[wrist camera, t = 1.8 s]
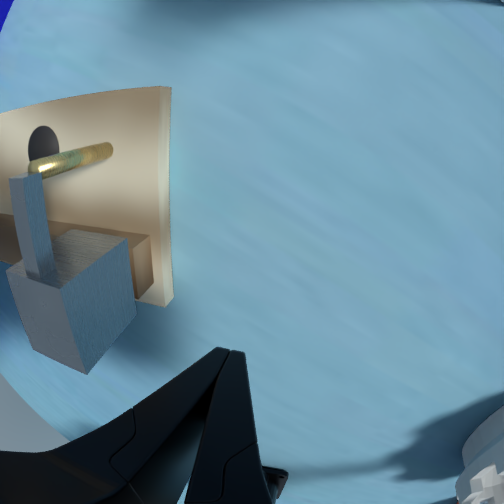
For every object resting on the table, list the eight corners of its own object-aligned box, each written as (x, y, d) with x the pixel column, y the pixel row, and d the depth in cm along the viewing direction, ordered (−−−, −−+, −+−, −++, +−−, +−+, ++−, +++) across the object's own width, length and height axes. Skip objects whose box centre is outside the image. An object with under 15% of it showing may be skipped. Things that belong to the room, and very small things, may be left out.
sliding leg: (147, 302, 14) (86, 375, 9) (96, 289, 14) (33, 349, 10) (137, 141, 11) (39, 167, 6) (79, 142, 11) (-14, 169, 7)
